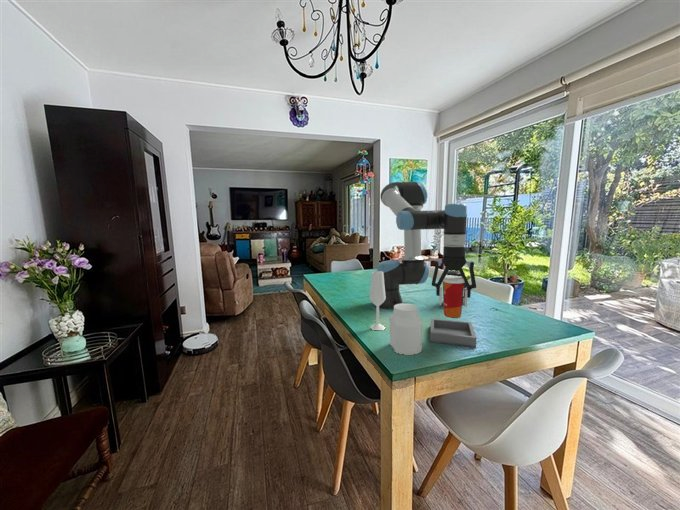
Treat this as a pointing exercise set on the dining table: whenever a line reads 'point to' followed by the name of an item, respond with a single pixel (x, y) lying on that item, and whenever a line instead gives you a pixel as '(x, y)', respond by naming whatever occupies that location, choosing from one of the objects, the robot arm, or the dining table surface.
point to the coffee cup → (453, 296)
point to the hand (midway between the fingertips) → (452, 304)
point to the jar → (406, 329)
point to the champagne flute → (377, 295)
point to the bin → (452, 332)
